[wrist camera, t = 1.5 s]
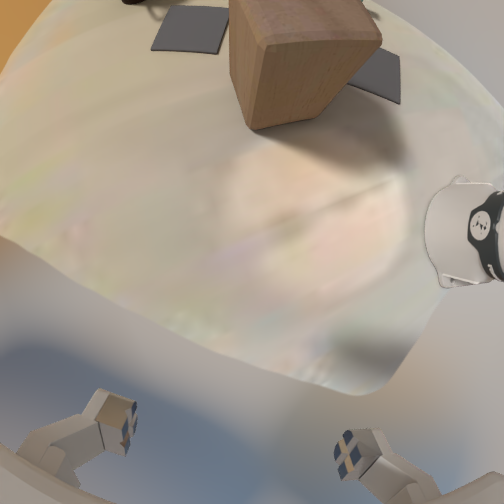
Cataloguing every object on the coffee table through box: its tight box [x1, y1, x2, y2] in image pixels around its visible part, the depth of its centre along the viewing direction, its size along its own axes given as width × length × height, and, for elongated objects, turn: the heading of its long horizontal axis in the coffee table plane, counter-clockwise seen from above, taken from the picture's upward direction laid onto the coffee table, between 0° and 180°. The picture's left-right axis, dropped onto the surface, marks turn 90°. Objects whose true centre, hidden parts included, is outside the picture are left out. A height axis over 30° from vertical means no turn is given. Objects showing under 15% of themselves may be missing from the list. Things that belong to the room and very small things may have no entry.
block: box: [229, 0, 382, 130], centre depth 23 cm, size 10×10×20 cm
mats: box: [151, 6, 400, 104], centre depth 32 cm, size 38×10×1 cm, turn 79°
